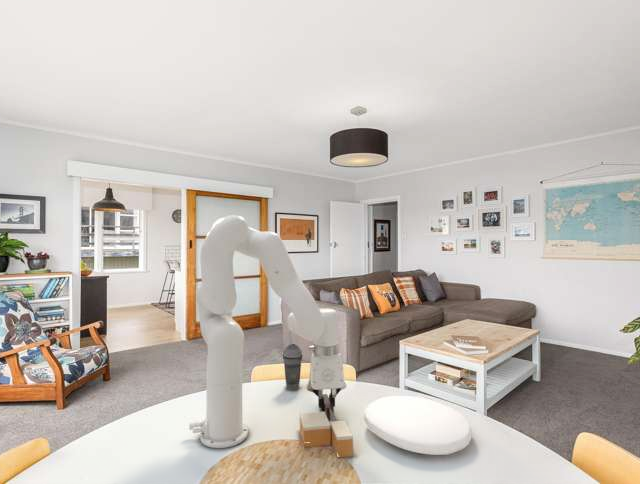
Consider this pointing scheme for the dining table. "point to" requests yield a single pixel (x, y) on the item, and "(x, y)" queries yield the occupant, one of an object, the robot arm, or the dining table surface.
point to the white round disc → (418, 425)
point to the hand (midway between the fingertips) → (326, 409)
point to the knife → (328, 408)
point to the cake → (315, 429)
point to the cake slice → (341, 438)
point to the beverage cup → (292, 365)
